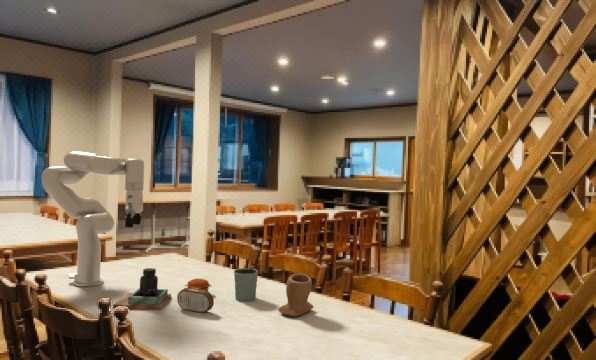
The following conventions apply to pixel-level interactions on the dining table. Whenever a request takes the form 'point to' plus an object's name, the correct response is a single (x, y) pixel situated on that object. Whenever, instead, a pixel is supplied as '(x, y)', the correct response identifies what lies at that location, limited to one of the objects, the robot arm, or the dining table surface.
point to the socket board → (144, 300)
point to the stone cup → (297, 295)
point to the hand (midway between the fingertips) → (133, 225)
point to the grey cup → (245, 284)
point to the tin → (195, 300)
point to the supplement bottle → (148, 283)
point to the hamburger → (198, 284)
